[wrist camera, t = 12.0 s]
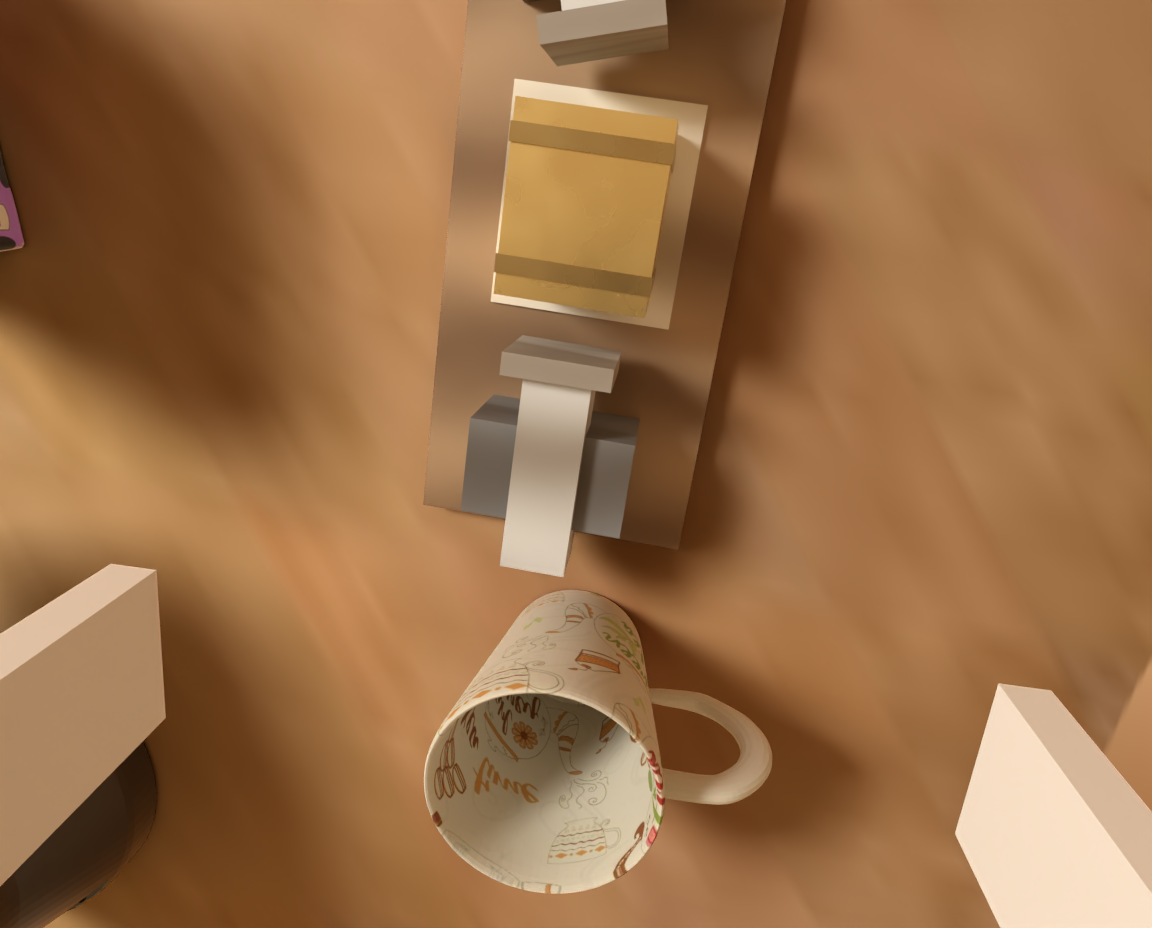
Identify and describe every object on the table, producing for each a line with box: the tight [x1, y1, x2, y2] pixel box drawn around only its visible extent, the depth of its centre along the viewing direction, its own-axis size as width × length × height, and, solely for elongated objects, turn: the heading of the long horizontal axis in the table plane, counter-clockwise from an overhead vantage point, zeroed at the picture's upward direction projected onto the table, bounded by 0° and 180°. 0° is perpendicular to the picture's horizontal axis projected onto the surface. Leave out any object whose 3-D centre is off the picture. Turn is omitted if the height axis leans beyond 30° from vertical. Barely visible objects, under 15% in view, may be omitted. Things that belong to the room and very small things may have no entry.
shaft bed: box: [423, 0, 786, 577], centre depth 28 cm, size 26×11×6 cm, turn 172°
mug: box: [424, 590, 772, 894], centre depth 32 cm, size 8×13×10 cm, turn 84°
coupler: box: [493, 96, 678, 318], centre depth 28 cm, size 6×5×5 cm
